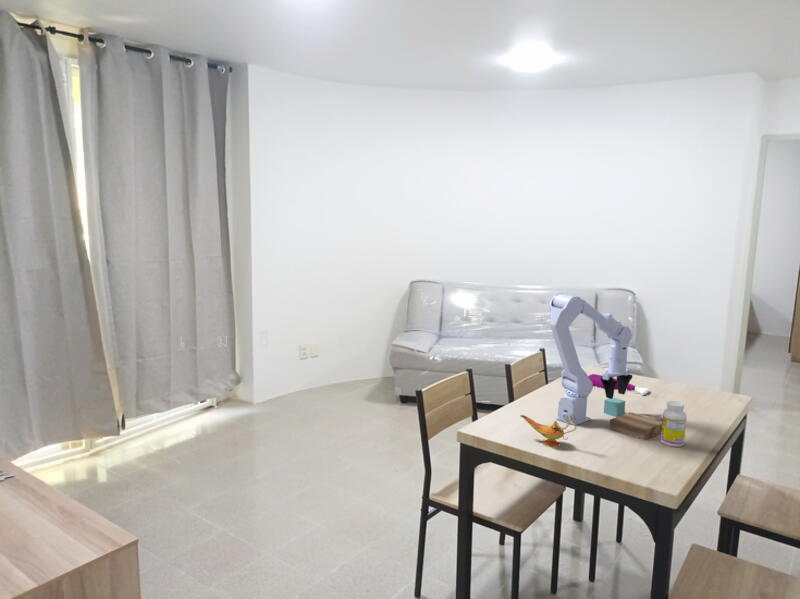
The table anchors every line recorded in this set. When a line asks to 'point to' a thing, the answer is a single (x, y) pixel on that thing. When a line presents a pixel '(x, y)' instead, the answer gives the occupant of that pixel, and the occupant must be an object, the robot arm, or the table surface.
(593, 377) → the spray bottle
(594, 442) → the table surface
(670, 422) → the supplement bottle
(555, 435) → the magic lamp
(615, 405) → the teal cube
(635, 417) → the walnut base
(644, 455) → the table surface
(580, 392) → the robot arm
